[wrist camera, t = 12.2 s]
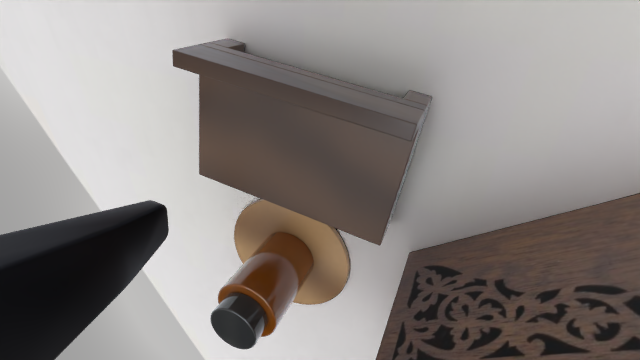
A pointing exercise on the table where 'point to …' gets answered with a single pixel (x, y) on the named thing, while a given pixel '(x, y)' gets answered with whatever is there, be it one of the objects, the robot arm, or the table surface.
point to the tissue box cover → (525, 292)
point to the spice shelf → (303, 137)
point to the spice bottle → (262, 290)
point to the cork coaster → (316, 235)
